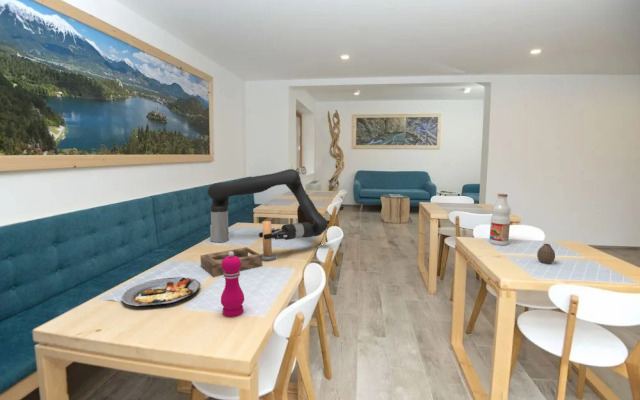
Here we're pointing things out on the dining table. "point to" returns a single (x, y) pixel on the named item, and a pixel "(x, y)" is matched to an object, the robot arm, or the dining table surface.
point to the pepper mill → (232, 286)
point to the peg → (267, 243)
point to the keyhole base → (215, 259)
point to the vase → (546, 254)
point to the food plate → (161, 291)
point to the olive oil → (303, 217)
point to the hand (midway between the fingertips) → (261, 236)
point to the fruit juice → (500, 221)
